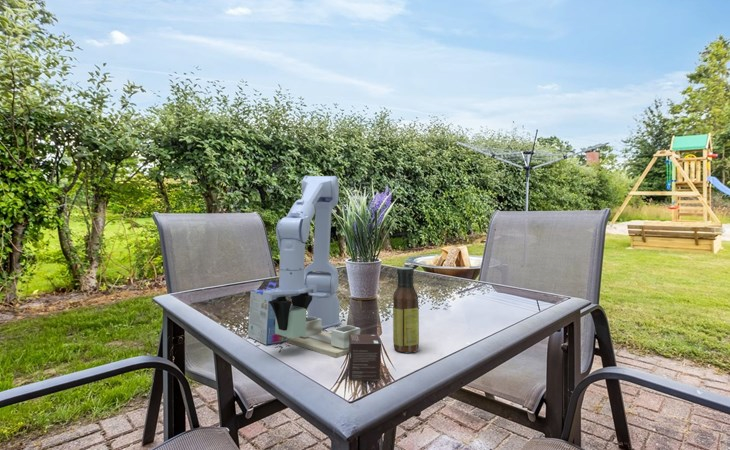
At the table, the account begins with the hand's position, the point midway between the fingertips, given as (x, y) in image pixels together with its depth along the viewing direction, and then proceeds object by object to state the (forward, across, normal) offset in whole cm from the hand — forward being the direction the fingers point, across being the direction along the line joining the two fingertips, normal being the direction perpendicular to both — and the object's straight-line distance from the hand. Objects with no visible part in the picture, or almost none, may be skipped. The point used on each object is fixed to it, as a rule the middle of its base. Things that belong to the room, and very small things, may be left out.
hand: (290, 327), depth 88 cm
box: (+6, +1, -21) cm, 22 cm away
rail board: (+6, +10, -2) cm, 12 cm away
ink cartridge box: (+6, +3, +12) cm, 14 cm away
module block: (+2, 0, 0) cm, 2 cm away
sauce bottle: (+6, +20, -19) cm, 28 cm away
